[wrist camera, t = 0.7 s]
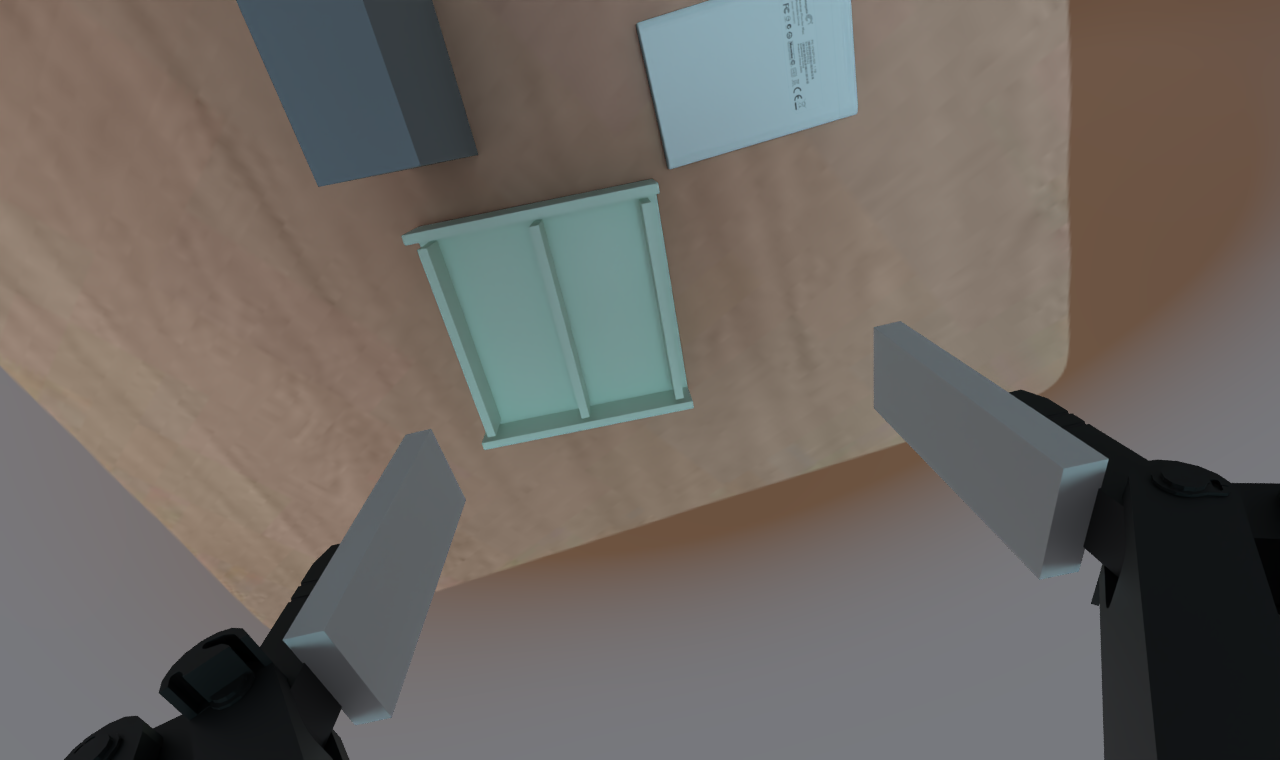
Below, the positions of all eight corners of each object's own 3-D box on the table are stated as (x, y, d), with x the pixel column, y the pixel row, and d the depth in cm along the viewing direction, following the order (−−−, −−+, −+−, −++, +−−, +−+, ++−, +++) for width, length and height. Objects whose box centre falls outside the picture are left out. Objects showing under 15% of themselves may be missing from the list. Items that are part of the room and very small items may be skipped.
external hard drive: (634, 27, 31) (837, -36, 30) (666, 168, 34) (848, 115, 34) (636, 21, 29) (849, -45, 29) (670, 170, 33) (859, 114, 32)
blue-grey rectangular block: (348, -1, 29) (200, -81, 18) (426, -18, 29) (325, -108, 18) (409, 168, 33) (318, 186, 22) (478, 154, 33) (420, 165, 22)
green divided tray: (418, 226, 34) (401, 235, 31) (652, 178, 34) (657, 183, 31) (492, 426, 41) (484, 450, 38) (686, 387, 41) (693, 408, 38)
